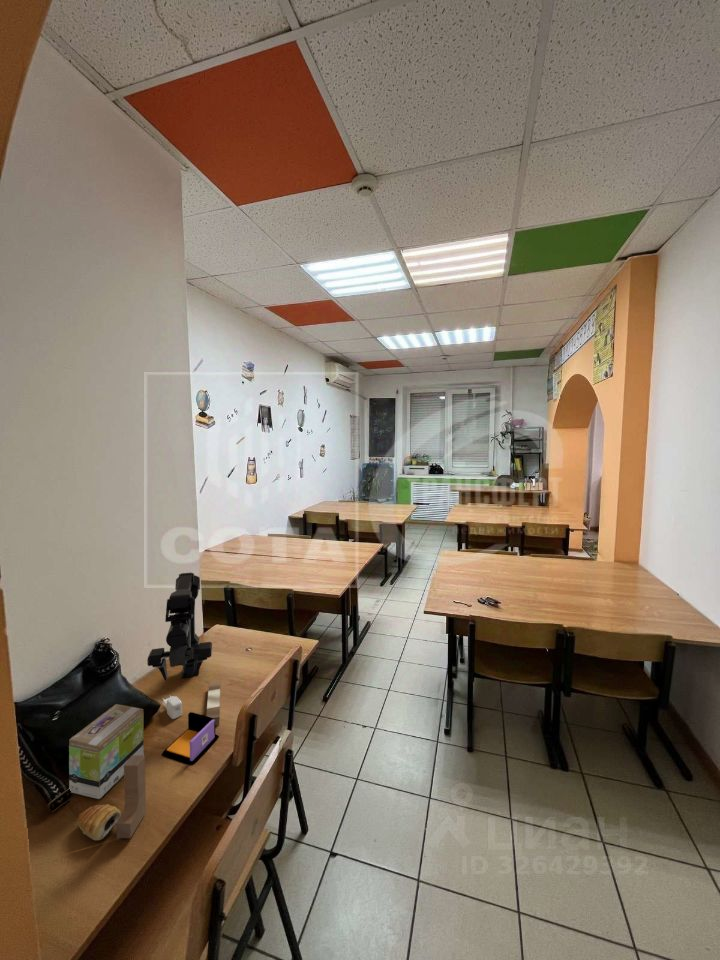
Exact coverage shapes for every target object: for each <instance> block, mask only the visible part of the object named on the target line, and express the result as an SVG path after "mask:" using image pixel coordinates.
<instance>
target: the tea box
mask: <svg viewBox="0 0 720 960" xmlns="http://www.w3.org/2000/svg"><path fill="white" fill-rule="evenodd" d="M144 738H145V737H144V709H143V708H139V707H134V706H129V705H124V704H118V703H116V704H114V705H113V706H111V707H110V708H108V709H107V710H106V711H105V712H104V713H102V714H101V715H100V716H98V717H97V718H95V719H94V720H93V721H92V722H90V723H88V725H86V726H85V727H84V728H83V729H81V730H80V731H79V732H77V733H76V734H75V735H73V736H71V738H69V740H68V741H69V742H68V752H69V753H68V770H69V771H68V777H69V778H68V781H69V782H68V785H69V787H68V790H69V789H70V791H71V792H70V793H73V794H77V795H81V796H84V797H88V798H93V799H97V800H101V798H102V797H103V796H104V795H105V794H107V792H108V791H109V790H110V789H111V788H112V787H113V786H114V785H115V784H117V783H118V781H119V780H120V779H122V777H124V765H125V764H126V762H127V761H128V760H129V758H130V757H131V756H132V755H144V748H145V747H144V742H145V741H144ZM144 756H145V755H144Z"/></svg>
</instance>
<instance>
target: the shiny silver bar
mask: <svg viewBox="0 0 720 960" xmlns="http://www.w3.org/2000/svg"><path fill="white" fill-rule="evenodd" d="M207 689H208V690H207V700H206V701H207V703H206V715H205V716H208V717H211V718H214V719H215V727H216V726H220V721H221V720H220V719H221V718H220V717H221V716H220V713H221V712H220V711H221V681H215V682H210V683H208V688H207Z"/></svg>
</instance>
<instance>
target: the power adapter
mask: <svg viewBox="0 0 720 960" xmlns="http://www.w3.org/2000/svg"><path fill="white" fill-rule="evenodd" d="M167 697H168V698H166V699H165V698H164V697H161V701H162V705H163V706H164V707H165V708H166V714H167V715H168V716H169V718H170V719H172V720H175V719H177V718H179V717H181V716H182V715H183V703H182V701H181V699H180V698H179V697H178V696H177V695H175V696H171V694H169V695H168V696H167Z"/></svg>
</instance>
